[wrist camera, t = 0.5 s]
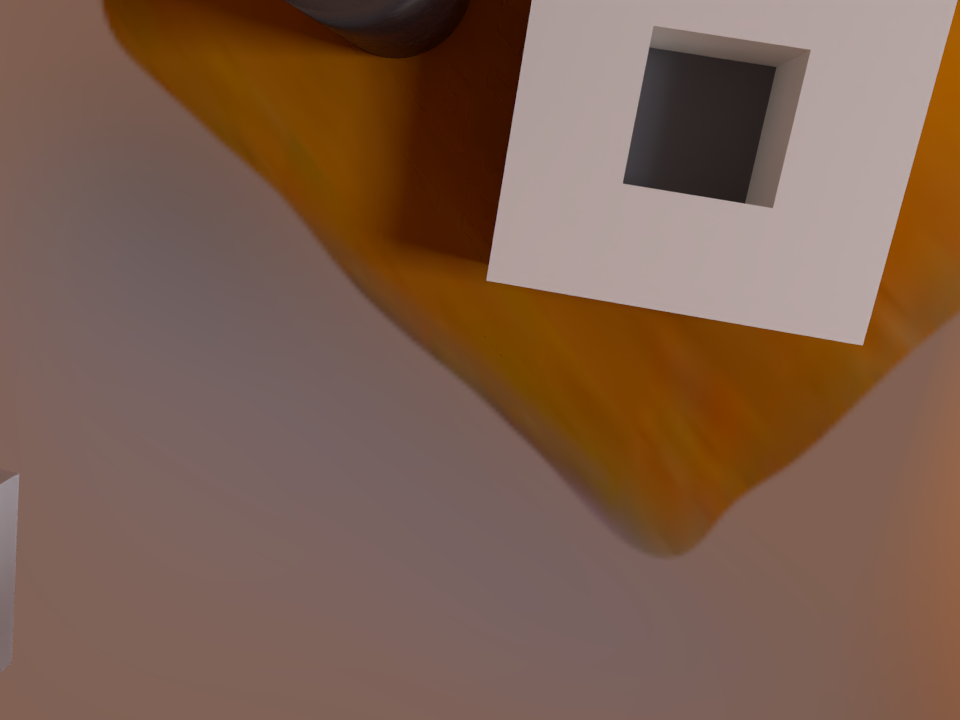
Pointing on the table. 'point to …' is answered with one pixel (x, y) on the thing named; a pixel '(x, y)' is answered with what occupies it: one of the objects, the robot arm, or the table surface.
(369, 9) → the cylinder
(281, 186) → the table surface
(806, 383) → the table surface
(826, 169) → the socket block
